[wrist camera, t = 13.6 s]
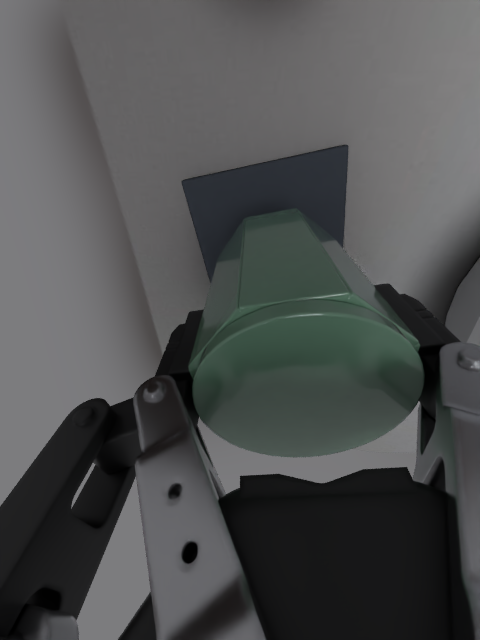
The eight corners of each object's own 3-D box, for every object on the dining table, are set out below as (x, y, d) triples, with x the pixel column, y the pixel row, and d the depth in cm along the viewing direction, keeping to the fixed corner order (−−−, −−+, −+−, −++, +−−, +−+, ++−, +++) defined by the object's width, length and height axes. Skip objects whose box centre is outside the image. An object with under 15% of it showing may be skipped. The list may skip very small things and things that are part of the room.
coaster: (183, 180, 16) (181, 181, 15) (345, 144, 15) (349, 144, 14) (219, 308, 22) (218, 312, 21) (338, 291, 20) (340, 295, 20)
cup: (209, 223, 13) (156, 332, 6) (336, 200, 12) (462, 292, 5) (233, 321, 17) (220, 462, 9) (332, 308, 16) (401, 453, 9)
